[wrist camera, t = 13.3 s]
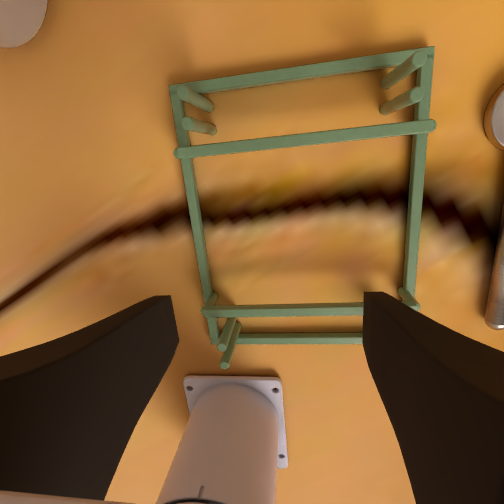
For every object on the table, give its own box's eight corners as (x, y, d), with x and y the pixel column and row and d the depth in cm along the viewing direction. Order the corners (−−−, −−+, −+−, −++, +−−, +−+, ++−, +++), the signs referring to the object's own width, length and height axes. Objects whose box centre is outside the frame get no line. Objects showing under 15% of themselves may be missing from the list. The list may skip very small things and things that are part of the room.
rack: (407, 339, 21) (437, 387, 16) (212, 340, 23) (194, 382, 19) (430, 49, 15) (482, 9, 11) (172, 87, 17) (133, 66, 13)
